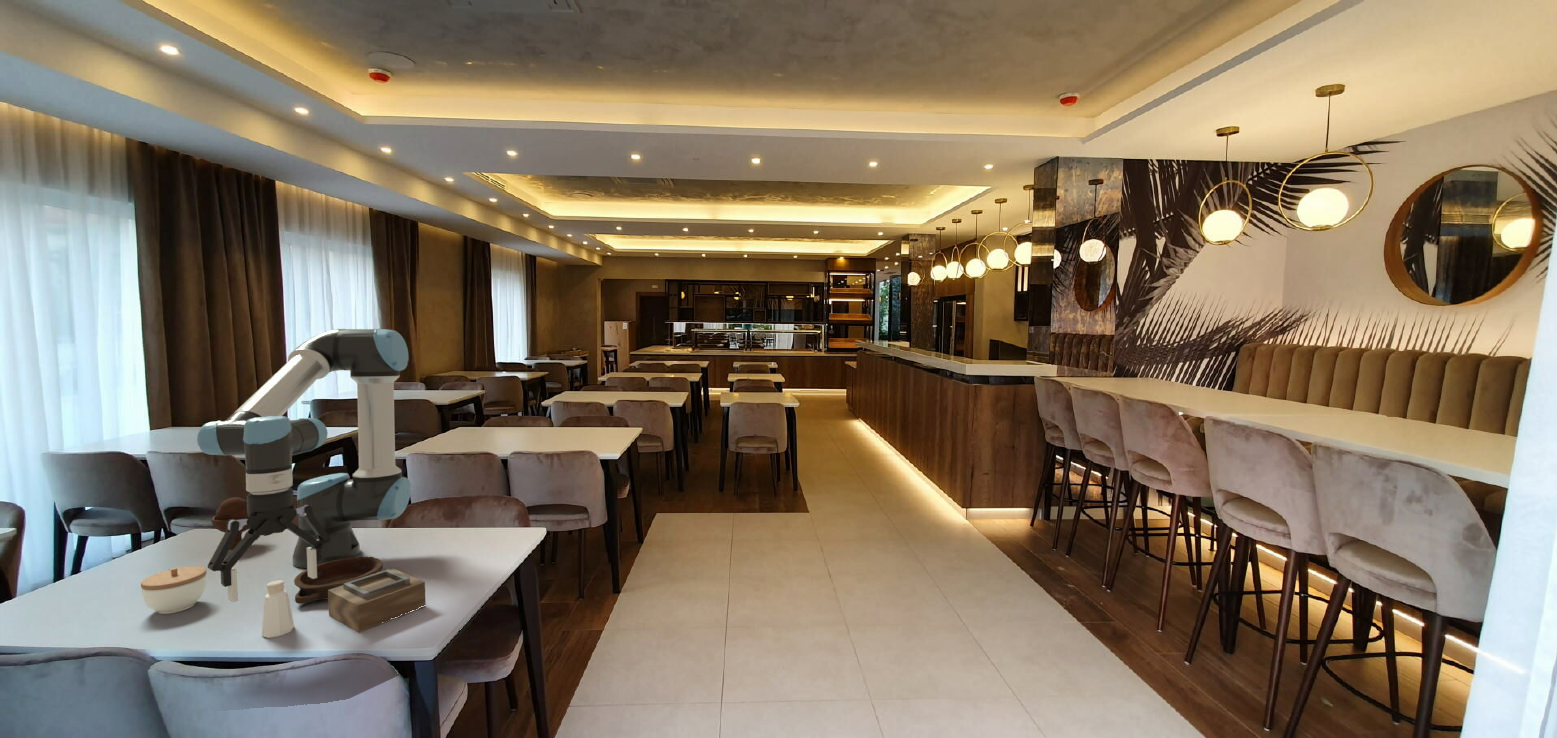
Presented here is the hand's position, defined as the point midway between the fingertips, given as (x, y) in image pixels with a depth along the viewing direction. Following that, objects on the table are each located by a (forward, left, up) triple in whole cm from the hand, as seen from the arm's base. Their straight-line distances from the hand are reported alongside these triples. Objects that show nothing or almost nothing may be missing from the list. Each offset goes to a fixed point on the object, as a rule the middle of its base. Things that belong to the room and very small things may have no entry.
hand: (274, 588), depth 127 cm
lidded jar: (-33, -8, -10) cm, 36 cm away
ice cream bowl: (-70, +14, -10) cm, 72 cm away
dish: (-13, +17, -10) cm, 24 cm away
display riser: (+8, +16, -10) cm, 21 cm away
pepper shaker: (0, 0, -10) cm, 10 cm away
